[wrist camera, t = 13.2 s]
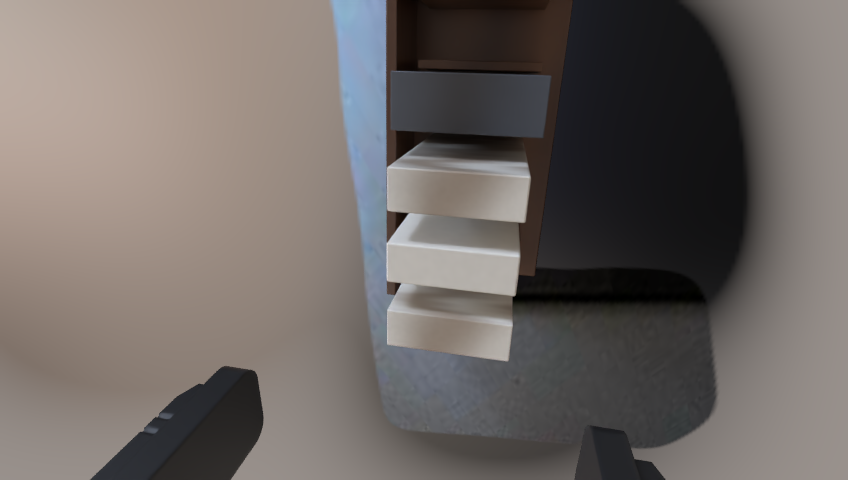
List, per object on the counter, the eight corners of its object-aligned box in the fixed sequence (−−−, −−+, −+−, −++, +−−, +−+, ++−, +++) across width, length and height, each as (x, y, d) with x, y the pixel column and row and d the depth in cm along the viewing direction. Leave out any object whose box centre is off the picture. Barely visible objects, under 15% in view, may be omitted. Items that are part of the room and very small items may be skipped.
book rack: (581, -67, 24) (649, -206, 12) (534, 272, 32) (548, 385, 20) (410, -64, 26) (327, -182, 14) (405, 258, 34) (349, 356, 22)
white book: (516, 189, 29) (520, 256, 18) (513, 216, 30) (515, 297, 19) (431, 182, 30) (386, 242, 19) (430, 209, 31) (386, 282, 20)
